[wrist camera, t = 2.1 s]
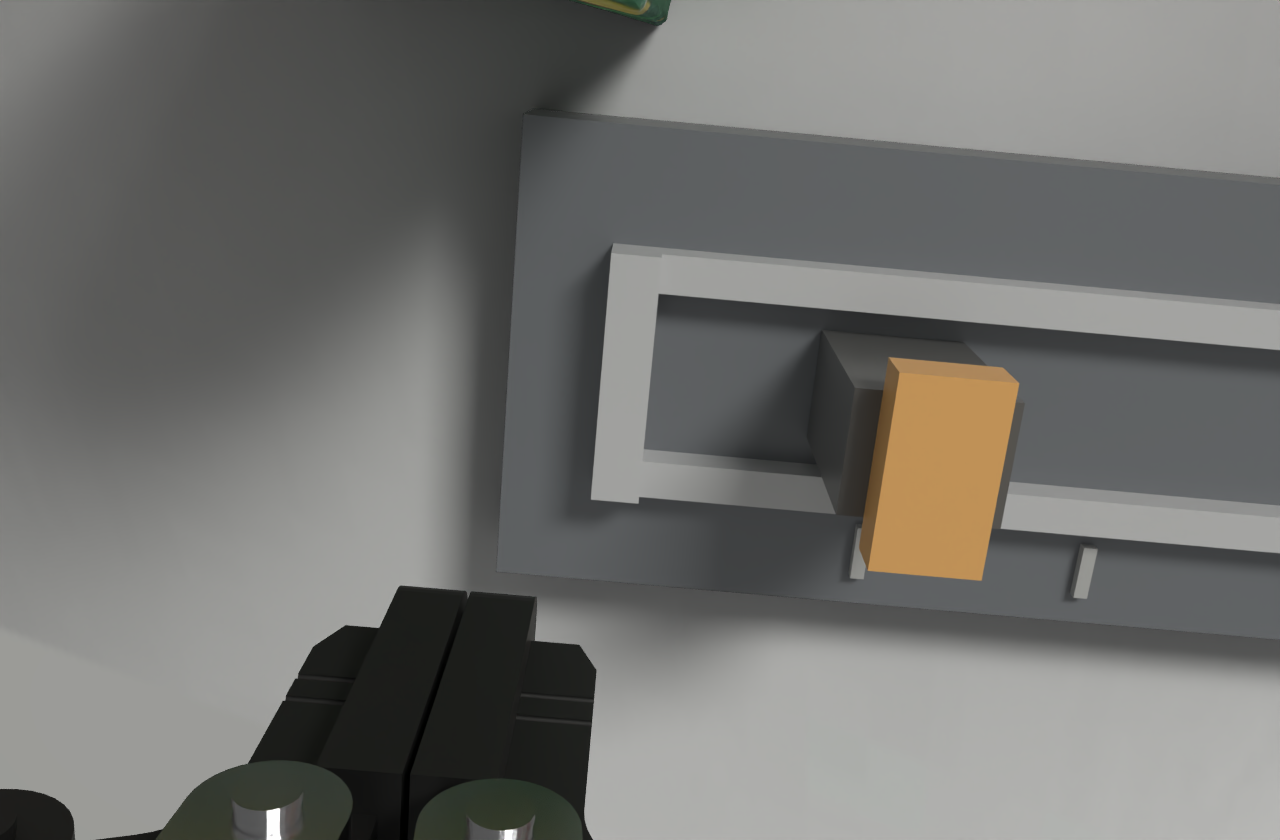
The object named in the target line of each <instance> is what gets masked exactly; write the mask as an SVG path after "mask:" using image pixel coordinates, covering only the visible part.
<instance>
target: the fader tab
mask: <svg viewBox="0 0 1280 840" xmlns="http://www.w3.org/2000/svg"><path fill="white" fill-rule="evenodd" d="M1018 388H1019V382H1018V381H1016V380H1015V379H1014V378H1013V377H1012V376H1011V375H1010V374H1009V373H1008V372H1007V371H1006V370H1005V369H1004V368H1002V367H991V366H987V365H986V364H985V363H984V362H983V361H982V360H981V359H980V358H979V357H978V356H977V355H976V354H975V353H974V352H973V351H972V350H971V349H970V348H969V347H968V346H967V345H966V344H965V343H964V342H953V341H942V340H931V339H920V338H909V337H898V336H887V335H876V334H865V333H854V332H843V331H832V330H822V332H821V339H820V347H819V354H818V361H817V368H816V376H815V383H814V390H813V397H812V404H811V412H810V419H809V426H808V433H807V440H808V442H809V445H810V448H811V450H812V453H813V456H814V458H815V461H816V463H817V466H818V469H819V471H820V474H821V477H822V479H823V482H824V485H825V487H826V490H827V493H828V495H829V498H830V500H831V503H832V506H833V508H834V511H835V514H836V515H843V516H854V517H863V523H862V530H861V536H860V542H859V550H860V552H861V555H862V557H863V560H864V562H865V565H866V567H867V570H868V571H876V572H887V573H898V574H910V575H921V576H933V577H944V578H956V579H967V580H979V581H982V576H983V570H984V565H985V560H986V555H987V550H988V544H989V539H990V534H991V529H1001V524H1002V519H1003V514H1004V509H1005V504H1006V498H1007V493H1008V488H1009V483H1010V478H1011V473H1012V468H1013V462H1014V457H1015V452H1016V447H1017V442H1018V437H1019V431H1020V426H1021V421H1022V416H1023V411H1024V406H1025V403H1024V402H1023V401H1022V400H1021V399H1020V398H1019V397H1018V396H1017V393H1018Z"/></svg>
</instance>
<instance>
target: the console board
mask: <svg viewBox="0 0 1280 840" xmlns="http://www.w3.org/2000/svg"><path fill="white" fill-rule="evenodd" d="M822 330H832V331H843V332H854V333H865V334H876V335H887V336H898V337H909V338H920V339H931V340H942V341H953V342H964V343H965V344H966V345H967V346H968V347H969V348H970V349H971V350H972V351H973V352H974V353H975V354H976V355H977V356H978V357H979V358H980V359H981V360H982V361H983V362H984V363H985V364H986V365H987V366H991V367H1002V368H1004V369H1005V370H1006V371H1007V372H1008V373H1009V374H1010V375H1011V376H1012V377H1013V378H1014V379H1015V380H1016V381H1018V382H1019V388H1018V393H1017V396H1018V397H1019V398H1020V399H1021V400H1022V401H1023V402H1024V403H1025V406H1024V411H1023V416H1022V421H1021V426H1020V431H1019V437H1018V442H1017V447H1016V452H1015V457H1014V462H1013V468H1012V473H1011V478H1010V483H1009V488H1008V493H1007V498H1006V504H1005V509H1004V514H1003V519H1002V524H1001V529H991V534H990V539H989V544H988V550H987V555H986V560H985V565H984V570H983V576H982V581H979V580H967V579H956V578H944V577H933V576H921V575H910V574H898V573H887V572H876V571H868V570H867V567H866V565H865V562H864V560H863V557H862V555H861V552H860V550H859V542H860V536H861V530H862V523H863V517H854V516H843V515H836V514H835V511H834V508H833V506H832V503H831V500H830V498H829V495H828V493H827V490H826V487H825V485H824V482H823V479H822V477H821V474H820V471H819V469H818V466H817V463H816V461H815V458H814V456H813V453H812V450H811V448H810V445H809V442H808V440H807V433H808V426H809V419H810V412H811V404H812V397H813V390H814V383H815V376H816V368H817V361H818V354H819V347H820V339H821V332H822ZM496 572H505V573H516V574H528V575H539V576H551V577H562V578H574V579H586V580H597V581H609V582H620V583H632V584H643V585H655V586H666V587H678V588H689V589H701V590H712V591H724V592H735V593H747V594H758V595H770V596H781V597H793V598H804V599H816V600H827V601H839V602H850V603H862V604H873V605H885V606H896V607H908V608H919V609H931V610H942V611H954V612H965V613H977V614H988V615H1000V616H1011V617H1023V618H1034V619H1046V620H1057V621H1069V622H1080V623H1092V624H1103V625H1115V626H1126V627H1138V628H1149V629H1161V630H1173V631H1184V632H1196V633H1207V634H1219V635H1230V636H1242V637H1253V638H1265V639H1276V640H1280V178H1271V177H1261V176H1250V175H1239V174H1229V173H1218V172H1207V171H1196V170H1186V169H1175V168H1164V167H1153V166H1143V165H1132V164H1121V163H1110V162H1100V161H1089V160H1078V159H1068V158H1057V157H1046V156H1035V155H1025V154H1014V153H1003V152H992V151H982V150H971V149H960V148H950V147H939V146H928V145H917V144H907V143H896V142H885V141H874V140H864V139H853V138H842V137H831V136H821V135H810V134H799V133H789V132H778V131H767V130H756V129H746V128H735V127H724V126H713V125H703V124H692V123H681V122H670V121H660V120H649V119H638V118H628V117H617V116H606V115H595V114H585V113H574V112H563V111H552V110H542V109H531V110H530V111H528V112H527V113H525V114H523V127H522V144H521V161H520V178H519V195H518V212H517V229H516V246H515V263H514V280H513V297H512V313H511V330H510V347H509V364H508V381H507V398H506V415H505V432H504V449H503V466H502V483H501V500H500V517H499V533H498V550H497V567H496Z"/></svg>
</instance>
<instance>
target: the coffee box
mask: <svg viewBox="0 0 1280 840" xmlns="http://www.w3.org/2000/svg"><path fill="white" fill-rule="evenodd" d="M570 1H574V2H578V3H581V4H585V5H589V6H592V7H596V8H599V9H603V10H606V11H610V12H613V13H616V14H620V15H623V16H626V17H630V18H633V19H636V20H640V21H643V22H646V23H649V24H652V25H656V26H658V25H662V23H664V22H665V21H666V20H667V15H668V10H669V6H670V2H671V0H570Z"/></svg>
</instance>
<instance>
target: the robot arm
mask: <svg viewBox="0 0 1280 840" xmlns="http://www.w3.org/2000/svg"><path fill="white" fill-rule="evenodd" d="M536 614H537V597H531V596H519V595H508V594H496V593H484V592H471V593H470V595H469V598H468V597H467V592H466V591H458V590H447V589H435V588H423V587H412V586H399V587H398V589H397V591H396V593H395V596H394V598H393V600H392V602H391V604H390V606H389V608H388V611H387V613H386V615H385V617H384V619H383V621H382V624H381V626H380V628H371V627H360V626H348V625H345V626H344V627H342V628H341V629H339V630H338V631H336V632H335V633H333V634H332V635H330V636H329V637H327V638H326V639H324V640H323V641H321V642H320V643H318V644H317V645H315V646H314V647H313V648H312V650H311V652H310V654H309V655H308V657H307V659H306V661H305V662H304V664H303V666H302V668H301V670H300V671H299V673H298V679H295V680H294V682H293V684H292V686H291V688H290V689H289V691H288V693H287V695H286V700H285V701H283V702H282V704H281V705H280V707H279V709H278V711H277V713H276V714H275V716H274V718H273V720H272V721H271V723H270V725H269V727H268V729H267V730H266V732H265V734H264V736H263V738H262V739H261V741H260V743H259V745H258V747H257V748H256V750H255V752H254V754H253V756H252V757H251V759H250V761H249V763H248V764H245V765H240V766H238V767H234V768H231V769H228V770H225V771H223V772H221V773H218V774H216V775H214V776H213V777H211V778H209V779H207V780H206V781H204V782H203V783H201V784H200V785H199V786H198V787H196V788H195V789H194V790H193V791H192V792H191V793H190V794H189V795H188V797H187V798H186V799H185V801H184V802H183V803H182V805H181V806H180V807H179V809H178V810H177V811H176V813H175V814H174V815H173V816H172V818H171V819H170V820H169V822H168V823H167V824H166V826H165V827H164V828H163V829H162V830H158V831H154V832H149V833H143V834H137V835H131V836H122V837H115V838H106V839H99V840H593V839H592V838H591V836H590V834H589V832H588V830H587V827H586V824H585V820H584V807H585V795H586V784H587V772H588V761H589V750H590V738H591V727H592V716H593V704H594V693H595V681H596V669H595V667H594V666H593V664H592V663H591V661H590V660H589V659H588V657H587V656H586V654H585V653H584V651H583V650H582V648H581V647H580V645H574V644H562V643H551V642H539V641H535V629H536ZM0 840H75V834H74V821H73V817H72V815H71V813H70V811H69V810H68V809H67V808H66V806H65V805H64V804H62V803H61V802H59V801H58V800H56V799H55V798H53V797H50V796H47V795H45V794H42V793H38V792H34V791H28V790H19V789H0Z"/></svg>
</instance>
